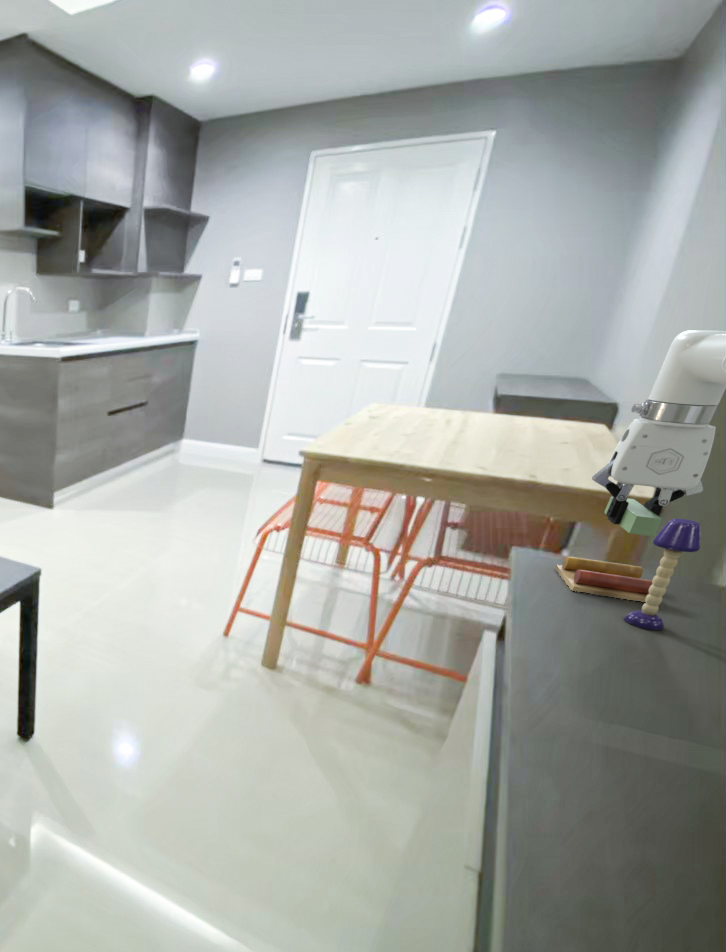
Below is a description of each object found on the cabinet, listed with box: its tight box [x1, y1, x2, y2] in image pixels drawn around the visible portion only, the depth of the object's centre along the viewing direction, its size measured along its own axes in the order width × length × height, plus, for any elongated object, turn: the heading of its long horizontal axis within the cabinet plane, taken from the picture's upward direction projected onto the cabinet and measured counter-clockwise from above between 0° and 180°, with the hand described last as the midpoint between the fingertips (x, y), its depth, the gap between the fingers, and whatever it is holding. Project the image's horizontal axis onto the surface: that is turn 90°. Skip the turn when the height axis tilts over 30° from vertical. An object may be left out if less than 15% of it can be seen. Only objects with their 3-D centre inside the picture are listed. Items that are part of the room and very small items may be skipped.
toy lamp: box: [624, 518, 701, 631], centre depth 91 cm, size 5×5×17 cm
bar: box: [603, 496, 663, 537], centre depth 102 cm, size 12×3×3 cm, turn 151°
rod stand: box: [554, 555, 653, 603], centre depth 106 cm, size 11×11×3 cm
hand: (628, 522), depth 102 cm, fingers closed on bar, 3 cm apart
